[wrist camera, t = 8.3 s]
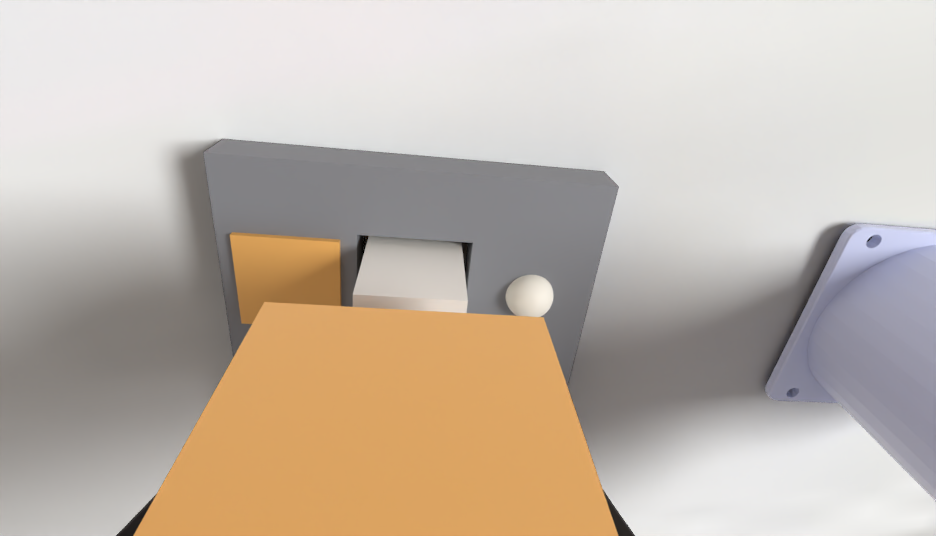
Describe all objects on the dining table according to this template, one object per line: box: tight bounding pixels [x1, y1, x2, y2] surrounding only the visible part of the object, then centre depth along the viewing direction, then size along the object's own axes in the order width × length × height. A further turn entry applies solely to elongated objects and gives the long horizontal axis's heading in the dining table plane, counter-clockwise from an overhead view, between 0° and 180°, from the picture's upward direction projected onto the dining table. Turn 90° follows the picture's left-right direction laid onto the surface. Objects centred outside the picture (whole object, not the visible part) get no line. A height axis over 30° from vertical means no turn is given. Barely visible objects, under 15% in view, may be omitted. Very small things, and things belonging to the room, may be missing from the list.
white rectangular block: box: [353, 236, 468, 313], centre depth 16 cm, size 3×3×4 cm
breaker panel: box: [203, 139, 619, 387], centre depth 20 cm, size 12×20×2 cm, turn 174°
